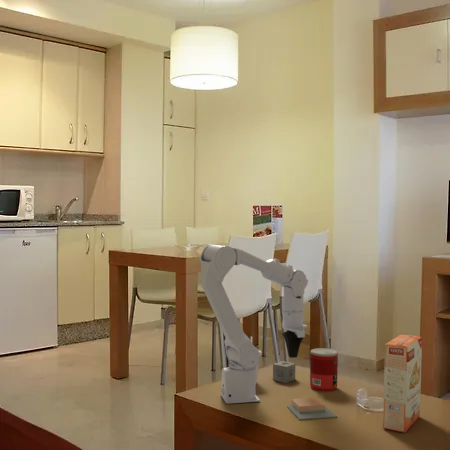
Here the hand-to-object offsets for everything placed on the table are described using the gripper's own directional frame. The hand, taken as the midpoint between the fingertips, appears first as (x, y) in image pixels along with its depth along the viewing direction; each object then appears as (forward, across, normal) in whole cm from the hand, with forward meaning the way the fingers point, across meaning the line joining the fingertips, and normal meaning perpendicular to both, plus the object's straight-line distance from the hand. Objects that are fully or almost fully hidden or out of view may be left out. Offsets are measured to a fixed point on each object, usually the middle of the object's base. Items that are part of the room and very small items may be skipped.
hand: (292, 357), depth 174 cm
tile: (+9, -16, +1) cm, 18 cm away
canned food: (+10, +1, -10) cm, 14 cm away
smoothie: (+10, +10, +10) cm, 17 cm away
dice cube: (+10, +11, -1) cm, 15 cm away
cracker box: (+10, -30, -19) cm, 37 cm away
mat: (+10, -18, +1) cm, 21 cm away
